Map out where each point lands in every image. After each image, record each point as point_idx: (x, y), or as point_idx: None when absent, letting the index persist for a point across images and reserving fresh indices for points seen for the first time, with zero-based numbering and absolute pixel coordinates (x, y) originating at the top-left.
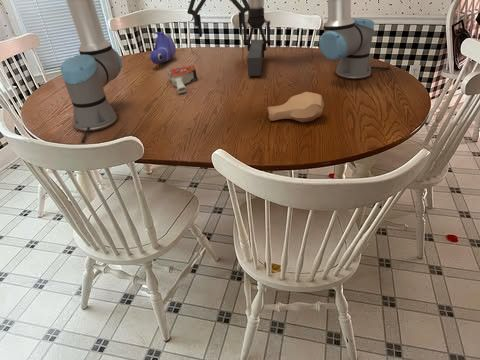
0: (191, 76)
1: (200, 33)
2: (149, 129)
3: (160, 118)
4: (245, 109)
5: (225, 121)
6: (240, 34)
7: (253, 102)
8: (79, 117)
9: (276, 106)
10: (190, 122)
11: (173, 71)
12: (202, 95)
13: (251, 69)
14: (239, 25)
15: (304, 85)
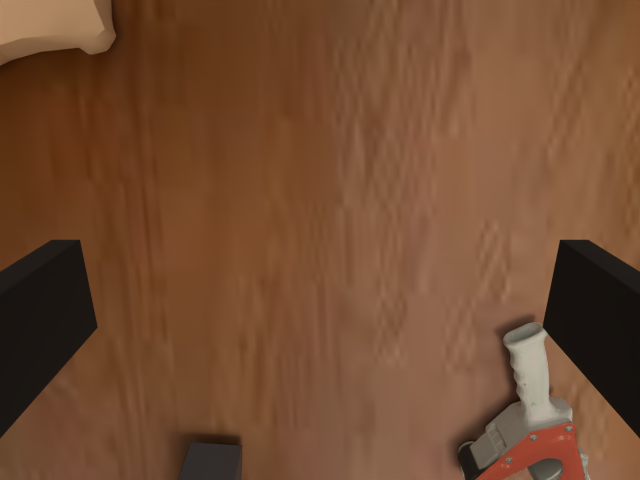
0: (482, 448)
1: (592, 256)
2: None
3: (621, 85)
4: (236, 141)
5: (321, 20)
6: (65, 240)
7: (206, 210)
8: None
9: (56, 28)
10: (483, 26)
11: (570, 469)
12: (430, 301)
13: (221, 466)
14: (1, 292)
15: None
